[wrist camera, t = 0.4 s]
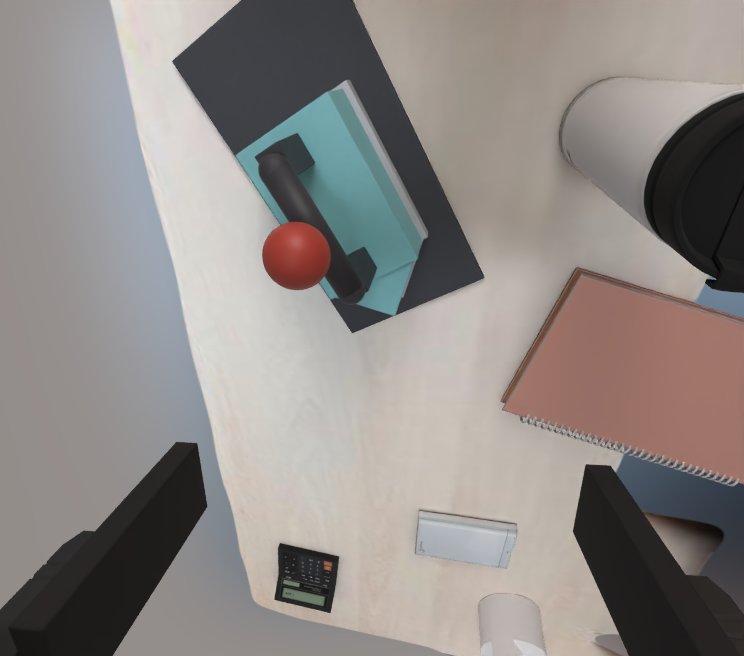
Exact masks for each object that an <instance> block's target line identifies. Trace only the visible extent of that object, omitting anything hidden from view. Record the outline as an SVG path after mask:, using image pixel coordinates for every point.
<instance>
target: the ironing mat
mask: <svg viewBox="0 0 744 656" xmlns="http://www.w3.org/2000/svg"><path fill="white" fill-rule="evenodd" d="M172 62H173V63H174V65H175V66H176V68H177V69H178V71H179V72H180V74H181V75H182V77H183V78H184V80H185V81H186V83H187V84H188V86H189V87H190V89H191V90H192V92H193V93H194V95H195V96H196V98H197V99H198V101H199V102H200V104H201V105H202V107H203V108H204V110H205V112H206V113H207V115H208V116H209V118H210V119H211V121H212V122H213V124H214V125H215V127H216V128H217V130H218V131H219V133H220V134H221V136H222V137H223V139H224V140H225V142H226V143H227V145H228V146H229V148H230V149H231V151H232V152H233V154H234V155H235V157H236V155H237V154H238V153H239V152H241V151H242V150H244V149H245V148H247V147H248V146H249V145H251V144H252V143H254V142H255V141H257V140H258V139H260V138H261V137H262V136H264V135H265V134H267V133H268V132H270V131H271V130H272V129H274V128H275V127H277V126H278V125H280V124H281V123H282V122H284V121H285V120H287V119H288V118H290V117H291V116H293V115H294V114H295V113H297V112H298V111H300V110H301V109H303V108H304V107H305V106H307V105H308V104H310V103H311V102H313V101H314V100H316V99H317V98H318V97H320V96H321V95H323V94H324V93H326V92H328V91H331V90H332V89H334V88H335V87H337V86H338V85H340V84H341V83H342V82H344V81H345V80H350V81H351V83H352V85H353V87H354V89H355V91H356V93H357V95H358V97H359V99H360V100H361V102H362V104H363V106H364V108H365V110H366V112H367V114H368V116H369V118H370V120H371V122H372V124H373V126H374V128H375V130H376V132H377V134H378V135H379V137H380V139H381V141H382V143H383V145H384V147H385V149H386V151H387V153H388V155H389V157H390V159H391V161H392V163H393V165H394V167H395V169H396V170H397V172H398V174H399V176H400V178H401V180H402V182H403V184H404V186H405V188H406V190H407V192H408V194H409V196H410V198H411V200H412V202H413V204H414V205H415V207H416V209H417V211H418V213H419V215H420V217H421V219H422V221H423V223H424V225H425V227H426V229H427V231H428V237H427V238H425V239H423V242H422V245H421V248H420V251H419V255H418V259H417V260H416V262H415V265H414V268H413V271H412V274H411V277H410V280H409V283H408V285H407V288H406V291H405V294H404V297H403V298H402V297H401V300H400V303H399V306H398V309H397V312H396V315H397V314H399V313H402V312H404V311H407V310H409V309H411V308H414V307H416V306H419V305H421V304H423V303H426V302H428V301H431V300H433V299H435V298H438V297H440V296H442V295H445V294H447V293H450V292H452V291H454V290H457V289H459V288H462V287H464V286H466V285H469V284H471V283H474V282H476V281H478V280H481V279H483V278H484V275H483V273H482V271H481V269H480V267H479V265H478V263H477V261H476V259H475V256H474V254H473V252H472V250H471V248H470V246H469V244H468V242H467V240H466V238H465V235H464V233H463V231H462V229H461V227H460V225H459V223H458V221H457V219H456V217H455V215H454V212H453V210H452V208H451V206H450V204H449V202H448V200H447V198H446V196H445V194H444V192H443V189H442V187H441V185H440V183H439V181H438V179H437V177H436V175H435V173H434V171H433V169H432V166H431V164H430V162H429V160H428V158H427V156H426V154H425V152H424V150H423V148H422V146H421V143H420V141H419V139H418V137H417V135H416V133H415V131H414V129H413V127H412V125H411V122H410V120H409V118H408V116H407V114H406V112H405V110H404V108H403V106H402V104H401V102H400V99H399V97H398V95H397V93H396V91H395V89H394V87H393V85H392V83H391V81H390V79H389V76H388V74H387V72H386V70H385V68H384V66H383V64H382V62H381V60H380V58H379V56H378V53H377V51H376V49H375V47H374V45H373V43H372V41H371V39H370V37H369V35H368V32H367V30H366V28H365V26H364V24H363V22H362V20H361V18H360V16H359V14H358V12H357V9H356V7H355V5H354V3H353V1H352V0H241V1H240V2H239V3H238V4H237V5H235V6H234V7H233V8H232V9H231V10H230V11H229V12H228V13H226V14H225V15H224V16H223V17H222V18H221V19H220V20H218V21H217V22H216V23H215V24H214V25H213V26H212V27H210V28H209V29H208V30H207V31H206V32H205V33H204V34H203V35H201V36H200V37H199V38H198V39H197V40H196V41H195V42H193V43H192V44H191V45H190V46H189V47H188V48H187V49H185V50H184V51H183V52H182V53H181V54H180V55H179V56H178V57H176V58H175V59H174V60H173V61H172ZM237 160H238V159H237ZM239 163H240V162H239ZM241 166H242V165H241ZM243 169H244V168H243ZM245 172H246V171H245ZM247 175H248V174H247ZM249 178H250V177H249ZM251 181H252V180H251ZM252 183H253V182H252ZM253 184H254V183H253ZM254 186H255V185H254ZM256 189H257V188H256ZM258 192H259V191H258ZM260 195H261V194H260ZM262 198H263V197H262ZM264 201H265V200H264ZM266 204H267V203H266ZM268 207H269V206H268ZM270 210H271V209H270ZM272 213H273V212H272ZM274 216H275V215H274ZM276 219H277V218H276ZM278 222H279V221H278ZM280 225H281V224H280ZM319 284H320V283H319ZM321 287H322V286H321ZM323 290H324V289H323ZM325 293H326V292H325ZM327 296H328V295H327ZM329 299H330V298H329ZM330 300H331V302H332V303H333V305H334V306H335V308H336V309H337V311H338V312H339V314H340V315H341V317H342V318H343V320H344V321H345V323H346V324H347V326H348V328H349V329H350V331H351V332H352V333H354V332H356V331H359V330H361V329H364V328H366V327H368V326H371V325H373V324H376V323H378V322H380V321H383V320H385V319H387V318H390V317H392V316H393V315H389V314H386V313H383V312H380V311H377V310H374V309H370V308H367V307H364V306H361V305H358V304H353V305H348V304H345V303H343V302H342V301H341V300H340V299H339V298H333V299H330Z"/></svg>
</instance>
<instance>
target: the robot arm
mask: <svg viewBox="0 0 744 656" xmlns="http://www.w3.org/2000/svg"><path fill="white" fill-rule="evenodd" d="M206 508H207V502H206V496H205V489H204V483H203V476H202V470H201V464H200V457H199V452H198V445H197V443H185V442H176V443H175V444H174V445H173V446H172V448H171V449H170V450H169V451H168V452H167V453H166V454H165V455H164V456H163V457H162V458H161V460H160V461H159V462H158V463H157V464H156V465H155V466H154V467H153V468H152V469H151V470H150V472H149V473H148V474H147V475H146V476H145V477H144V478H143V479H142V480H141V481H140V483H139V484H138V485H137V486H136V487H135V488H134V489H133V490H132V491H131V492H130V494H129V495H128V496H127V497H126V498H125V499H124V500H123V501H122V502H121V504H120V505H119V506H118V507H117V508H116V509H115V510H114V511H113V512H112V513H111V515H110V516H109V517H108V518H107V519H106V520H105V521H104V522H103V523H102V524H101V526H99V528H98V529H97V530H96V531H95V532H94V531H83V532H81V533H80V534H78V535H77V536H75V537H74V538H72V539H71V540H69V541H68V542H66V543H65V544H63V545H62V546H61V547H60V548H59V549H58V550H57V551H56V552H55V554H54V555H53V556H52V557H51V558H50V559H49V560H48V561H47V564H46V565H43V566H42V567H41V568H40V569H39V570H38V571H37V572H36V573H35V574H34V577H33V578H32V579H29V581H28V582H26V584H25V585H24V586H23V587H22V588H21V589H20V590H19V591H18V592H17V593H16V594H15V595H14V596H13V597H12V598H11V599H10V600H9V601H8V602H7V603H6V604H5V605H4V606H3V607H2V608H1V610H0V656H113V654H114V653H115V651H116V649H117V648H118V646H119V645H120V643H121V642H122V640H123V638H124V637H125V635H126V634H127V632H128V631H129V629H130V627H131V626H132V624H133V622H134V621H135V619H136V618H137V616H138V615H139V613H140V611H141V610H142V608H143V607H144V605H145V603H146V602H147V601H148V599H149V598H150V596H151V594H152V593H153V591H154V590H155V588H156V587H157V585H158V583H159V582H160V580H161V579H162V577H163V575H164V574H165V572H166V571H167V569H168V568H169V566H170V565H171V563H172V561H173V560H174V558H175V557H176V555H177V553H178V552H179V550H180V549H181V547H182V546H183V544H184V542H185V541H186V539H187V538H188V536H189V535H190V533H191V531H192V530H193V528H194V527H195V525H196V524H197V522H198V520H199V519H200V517H201V516H202V514H203V512H204V511H205V509H206ZM573 533H574V535H575V537H576V540H577V542H578V544H579V546H580V548H581V551H582V553H583V555H584V557H585V559H586V562H587V564H588V566H589V568H590V570H591V573H592V575H593V577H594V579H595V582H596V584H597V586H598V588H599V590H600V593H601V595H602V597H603V599H604V601H605V604H606V606H607V608H608V610H609V613H610V615H611V617H612V619H613V621H614V624H615V626H616V628H617V630H618V632H619V635H620V637H621V639H622V641H623V643H624V646H625V648H626V650H627V652H628V655H629V656H744V614H743V613H742V612H741V610H740V609H739V608H738V607H737V605H736V604H735V602H734V601H733V600H732V598H731V597H730V596H729V595H728V594H726V593H725V592H724V591H723V590H722V589H721V588H720V587H718V586H717V585H716V584H715V583H714V582H712V581H711V580H710V579H709V578H708V577H706V576H693V575H685V573H684V572H683V570H682V569H681V567H680V566H679V565H678V563H677V562H676V560H675V559H674V557H673V556H672V554H671V553H670V551H669V550H668V549H667V547H666V546H665V544H664V543H663V541H662V540H661V538H660V537H659V535H658V534H657V533H656V531H655V530H654V528H653V527H652V525H651V524H650V522H649V521H648V519H647V518H646V517H645V515H644V514H643V512H642V511H641V509H640V508H639V507H638V505H637V504H636V502H635V501H634V499H633V498H632V496H631V495H630V493H629V492H628V490H627V489H626V488H625V486H624V485H623V483H622V482H621V480H620V479H619V477H618V476H617V475H616V473H615V472H614V470H613V469H612V467H611V466H607V465H589V464H586V466H585V471H584V476H583V481H582V487H581V492H580V497H579V502H578V507H577V513H576V518H575V523H574V528H573Z"/></svg>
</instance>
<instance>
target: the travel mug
mask: <svg viewBox="0 0 744 656" xmlns="http://www.w3.org/2000/svg"><path fill="white" fill-rule="evenodd" d="M559 139H560V146H561V150H562V153H563V155H564V156H565V158H566V160H567V161H568V162H569V163H570V164H571V165H572V166H573V167H574V168H576V169H577V170H578V171H579V172H580V173H582V174H583V175H584V176H585V177H586V178H587V179H589V180H590V181H591V182H592V183H593V184H595V185H596V186H597V187H598V188H599V189H600V190H602V191H603V192H604V193H605V194H606V195H608V196H609V197H610V198H611V199H612V200H613V201H615V202H616V203H617V204H618V205H619V206H621V207H622V208H623V209H624V210H625V211H626V212H628V213H629V214H630V215H631V216H632V217H634V218H635V219H636V220H637V221H638V222H639V223H641V224H642V225H643V226H644V227H645V228H646V229H648V230H649V231H650V232H651V233H653V234H654V235H655V236H656V237H657V238H658V239H660V240H661V241H663V242H664V243H666V244H667V245H669V246H670V247H671V248H673V249H674V250H675V251H676V252H677V253H679V254H680V255H681V256H682V257H684V258H685V259H686V260H687V261H688V262H689V263H691V264H692V265H693V266H695V267H696V268H698V269H699V270H700V271H702V272H704V273H706V274H708V275H710V276H712V277H714V278H716V280H711V279H706V282H705V283H706V284H707V285H708V286H709V287H711V288H712V289H716V290H720V291H728V292H741V293H744V85H734V84H719V83H704V82H689V81H674V80H659V79H644V78H629V77H613V78H608V79H604V80H601V81H599V82H596V83H594V84H592V85H591V86H589V87H588V88H586V89H585V90H584V91H582V92H581V93H580V94H579V95H578V96H577V97H576V98H575V99H574V100H573V102H572V103H571V104H570V106H569V107H568V109H567V111H566V113H565V115H564V117H563V120H562V123H561V126H560V133H559Z"/></svg>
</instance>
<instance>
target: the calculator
mask: <svg viewBox="0 0 744 656" xmlns="http://www.w3.org/2000/svg"><path fill="white" fill-rule="evenodd" d="M338 561H339V557H338V556H334V555H330V554H325V553H321V552H316V551H312V550H307V549H303V548H298V547H294V546H290V545H285V544H281V543H280V545H279V548H278V564H279V575H278V581H277V587H276V593H275V599H274V600H278V601H282V602H286V603H290V604H295V605H299V606H303V607H307V608H311V609H316V610H320V611H324V612H328V613H330V612H331V608H332V602H333V596H334V591H335V585H336V578H337V569H338Z"/></svg>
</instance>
